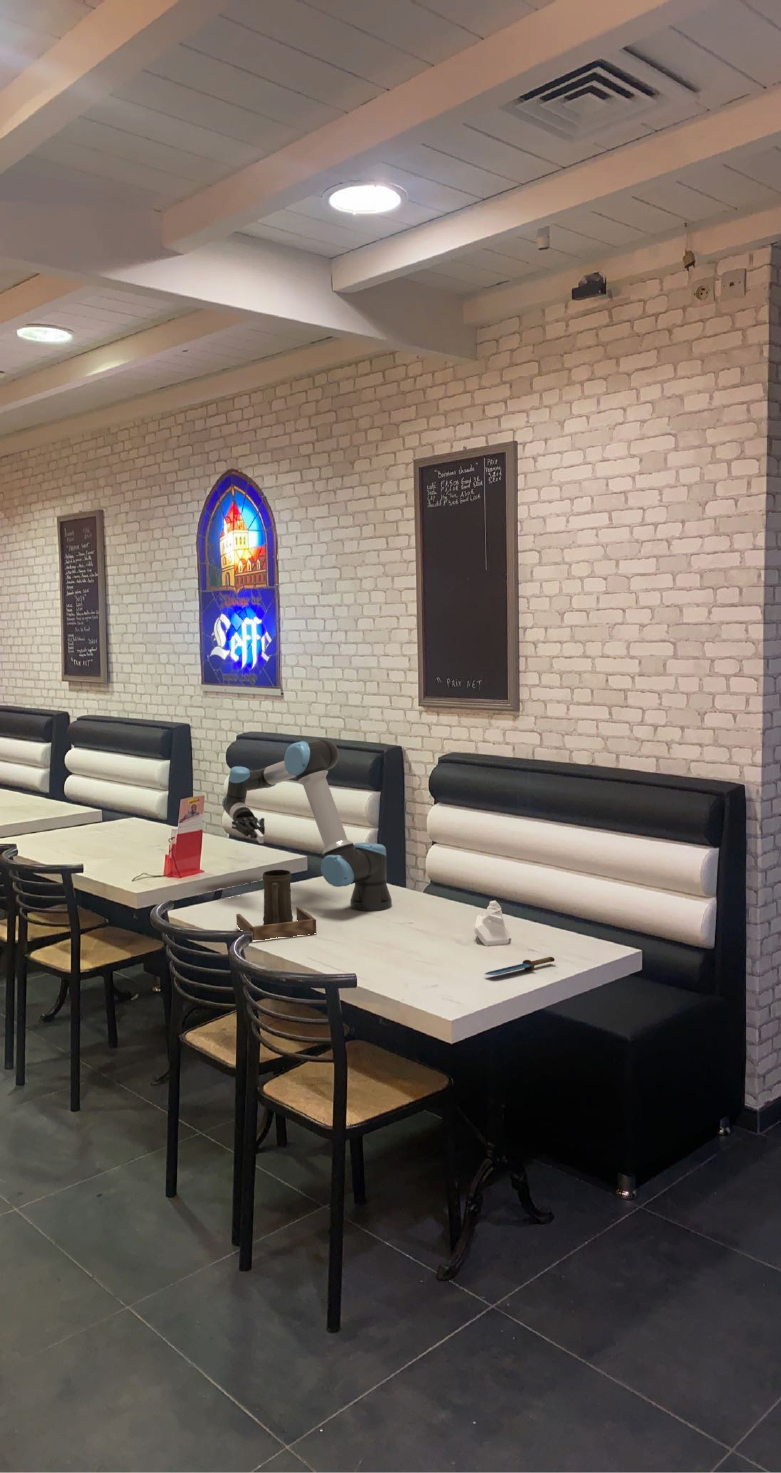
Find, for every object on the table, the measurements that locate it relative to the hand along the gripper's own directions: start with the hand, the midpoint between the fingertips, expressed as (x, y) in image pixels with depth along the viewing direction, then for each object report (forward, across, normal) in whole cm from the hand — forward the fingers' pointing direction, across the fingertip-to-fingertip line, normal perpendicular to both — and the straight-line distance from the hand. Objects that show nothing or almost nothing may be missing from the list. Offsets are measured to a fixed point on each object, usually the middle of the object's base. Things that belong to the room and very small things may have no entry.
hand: (261, 839), depth 373 cm
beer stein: (+32, +4, -19) cm, 38 cm away
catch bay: (+34, +6, -19) cm, 39 cm away
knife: (+107, -44, -3) cm, 115 cm away
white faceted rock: (+75, -53, -11) cm, 93 cm away
